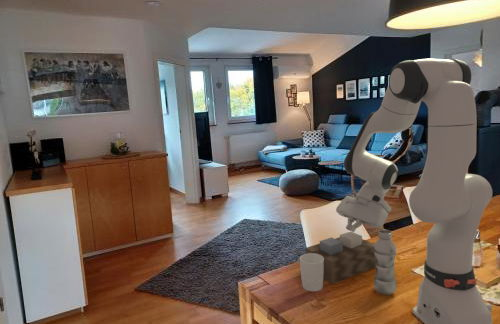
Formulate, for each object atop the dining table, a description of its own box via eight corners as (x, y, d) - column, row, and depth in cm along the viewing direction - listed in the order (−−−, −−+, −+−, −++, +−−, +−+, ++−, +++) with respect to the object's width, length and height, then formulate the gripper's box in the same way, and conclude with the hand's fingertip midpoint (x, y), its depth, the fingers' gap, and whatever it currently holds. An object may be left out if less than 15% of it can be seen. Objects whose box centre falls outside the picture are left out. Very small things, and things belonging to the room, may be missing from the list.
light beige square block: (350, 241, 136) (350, 231, 136) (362, 246, 131) (362, 235, 131) (339, 245, 134) (339, 234, 133) (350, 250, 129) (350, 239, 128)
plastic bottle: (398, 298, 110) (399, 236, 107) (374, 296, 111) (375, 235, 108) (394, 287, 116) (395, 228, 113) (372, 286, 118) (372, 227, 114)
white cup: (319, 279, 124) (318, 251, 122) (328, 290, 116) (327, 261, 115) (297, 282, 123) (296, 254, 121) (304, 294, 115) (303, 265, 113)
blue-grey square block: (331, 247, 132) (331, 237, 131) (342, 252, 127) (342, 242, 126) (320, 251, 129) (319, 241, 128) (330, 257, 124) (330, 246, 123)
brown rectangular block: (349, 253, 143) (349, 234, 142) (378, 266, 131) (378, 245, 130) (306, 268, 132) (305, 247, 131) (332, 284, 120) (332, 261, 119)
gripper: (343, 189, 142) (325, 218, 139) (386, 200, 124) (366, 233, 121) (352, 198, 145) (334, 226, 142) (395, 210, 127) (375, 243, 124)
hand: (349, 230), depth 131 cm, fingers closed
